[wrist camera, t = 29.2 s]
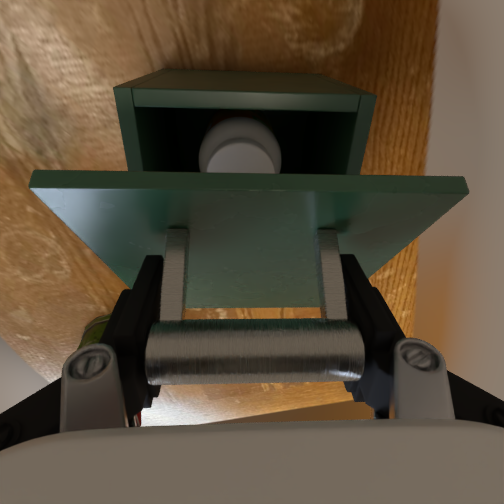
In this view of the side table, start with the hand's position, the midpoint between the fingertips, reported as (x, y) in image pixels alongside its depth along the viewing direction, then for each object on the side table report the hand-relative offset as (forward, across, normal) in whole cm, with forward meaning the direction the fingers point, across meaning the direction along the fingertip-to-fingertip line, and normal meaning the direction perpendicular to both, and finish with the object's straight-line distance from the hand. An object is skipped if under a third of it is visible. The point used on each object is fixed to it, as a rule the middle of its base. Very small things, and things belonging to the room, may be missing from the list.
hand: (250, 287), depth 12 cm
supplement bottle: (+18, 0, -1) cm, 18 cm away
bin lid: (+3, 0, +1) cm, 3 cm away
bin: (+18, 0, 0) cm, 18 cm away
